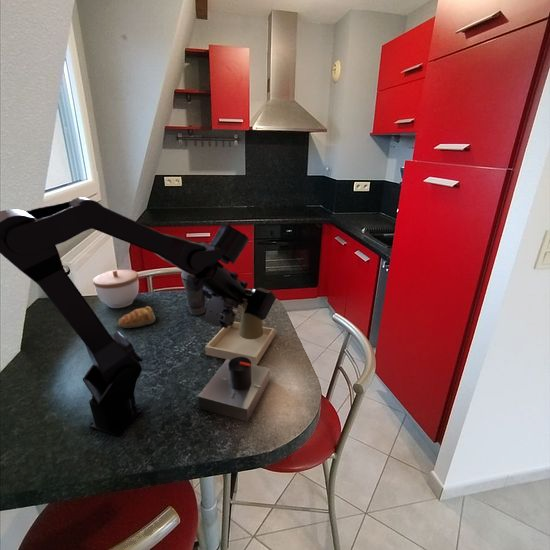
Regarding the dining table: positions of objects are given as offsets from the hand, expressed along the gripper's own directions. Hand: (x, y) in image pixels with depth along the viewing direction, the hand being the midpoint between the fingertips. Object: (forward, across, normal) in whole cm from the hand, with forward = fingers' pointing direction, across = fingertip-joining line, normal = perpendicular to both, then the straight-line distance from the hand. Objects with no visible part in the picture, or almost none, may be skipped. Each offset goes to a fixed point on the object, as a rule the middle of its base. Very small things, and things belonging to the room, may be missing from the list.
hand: (254, 308), depth 79 cm
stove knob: (-7, +11, -16) cm, 21 cm away
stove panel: (-5, +10, -18) cm, 22 cm away
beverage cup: (+7, -24, -6) cm, 26 cm away
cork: (+4, 0, -6) cm, 7 cm away
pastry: (-3, -32, -16) cm, 36 cm away
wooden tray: (+4, -1, -9) cm, 10 cm away
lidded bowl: (-1, -48, -14) cm, 50 cm away
